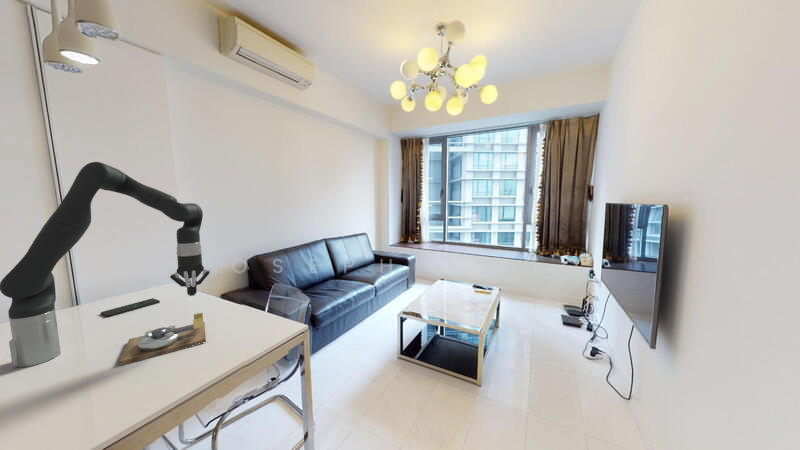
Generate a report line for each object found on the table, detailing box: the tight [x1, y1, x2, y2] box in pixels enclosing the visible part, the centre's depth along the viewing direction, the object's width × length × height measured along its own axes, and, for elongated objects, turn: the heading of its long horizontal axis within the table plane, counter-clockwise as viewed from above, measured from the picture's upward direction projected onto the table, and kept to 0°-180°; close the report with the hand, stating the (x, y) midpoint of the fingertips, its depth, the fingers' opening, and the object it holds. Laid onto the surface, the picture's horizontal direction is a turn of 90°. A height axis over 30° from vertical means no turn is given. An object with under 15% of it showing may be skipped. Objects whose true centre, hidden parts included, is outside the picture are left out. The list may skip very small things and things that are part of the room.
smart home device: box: [100, 297, 161, 318], centre depth 133 cm, size 8×2×20 cm
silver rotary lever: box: [138, 312, 204, 351], centre depth 102 cm, size 12×20×7 cm, turn 127°
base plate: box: [118, 321, 207, 366], centre depth 103 cm, size 24×18×2 cm
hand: (192, 295), depth 104 cm, fingers closed
